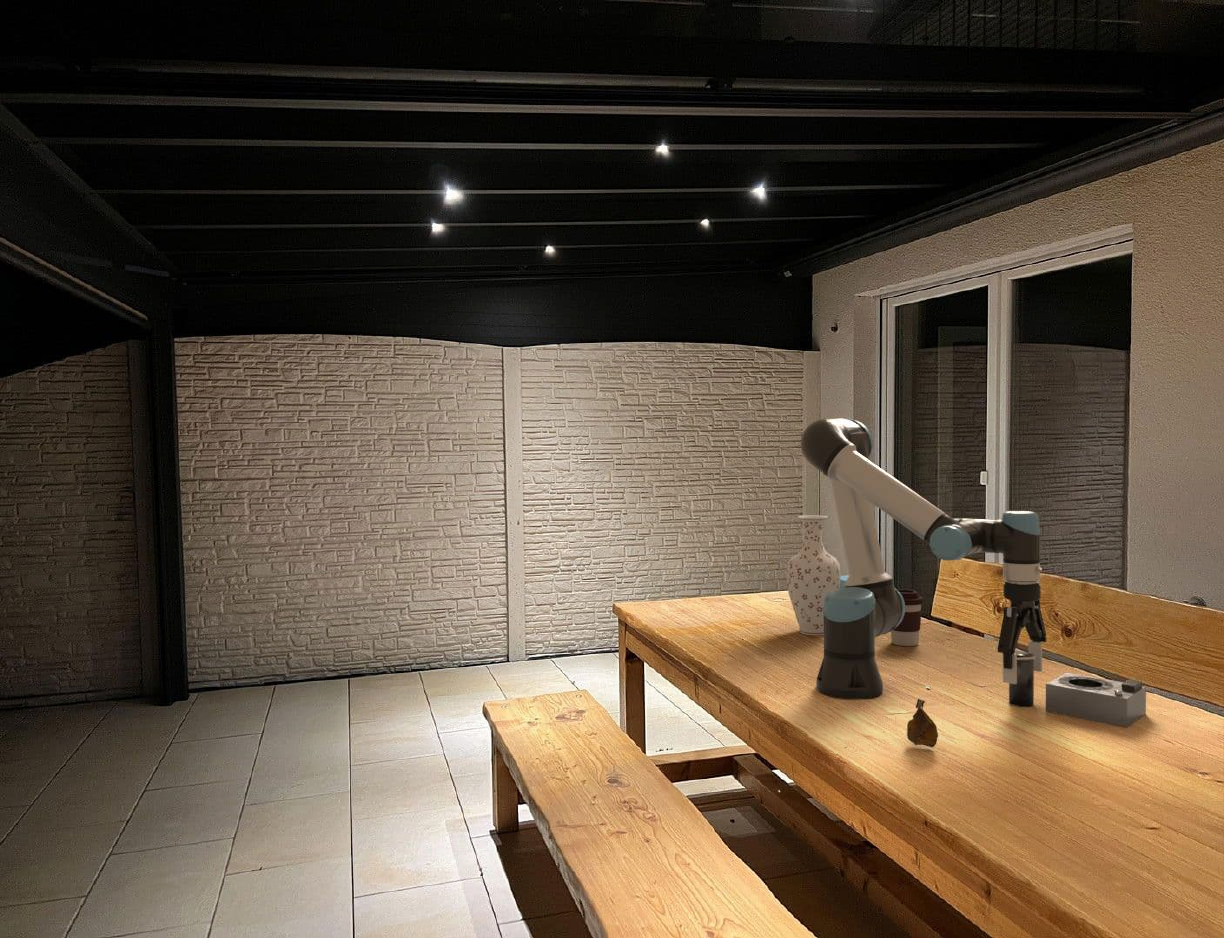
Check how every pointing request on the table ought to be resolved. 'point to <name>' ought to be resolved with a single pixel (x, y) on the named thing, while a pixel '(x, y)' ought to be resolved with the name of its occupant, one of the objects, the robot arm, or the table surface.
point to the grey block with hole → (1097, 699)
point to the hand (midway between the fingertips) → (1022, 676)
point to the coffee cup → (908, 620)
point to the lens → (1023, 681)
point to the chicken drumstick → (922, 728)
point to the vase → (812, 577)
